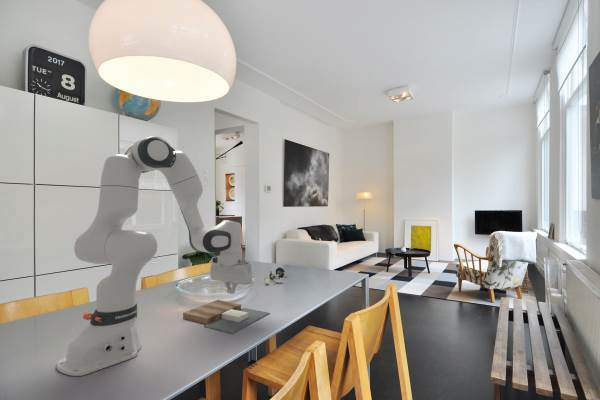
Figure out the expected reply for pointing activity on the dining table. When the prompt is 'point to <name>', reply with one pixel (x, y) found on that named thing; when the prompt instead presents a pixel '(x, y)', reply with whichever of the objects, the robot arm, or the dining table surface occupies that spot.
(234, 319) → the white flat block
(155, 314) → the dining table surface
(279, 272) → the artificial flower
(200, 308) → the wooden board
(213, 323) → the mat
